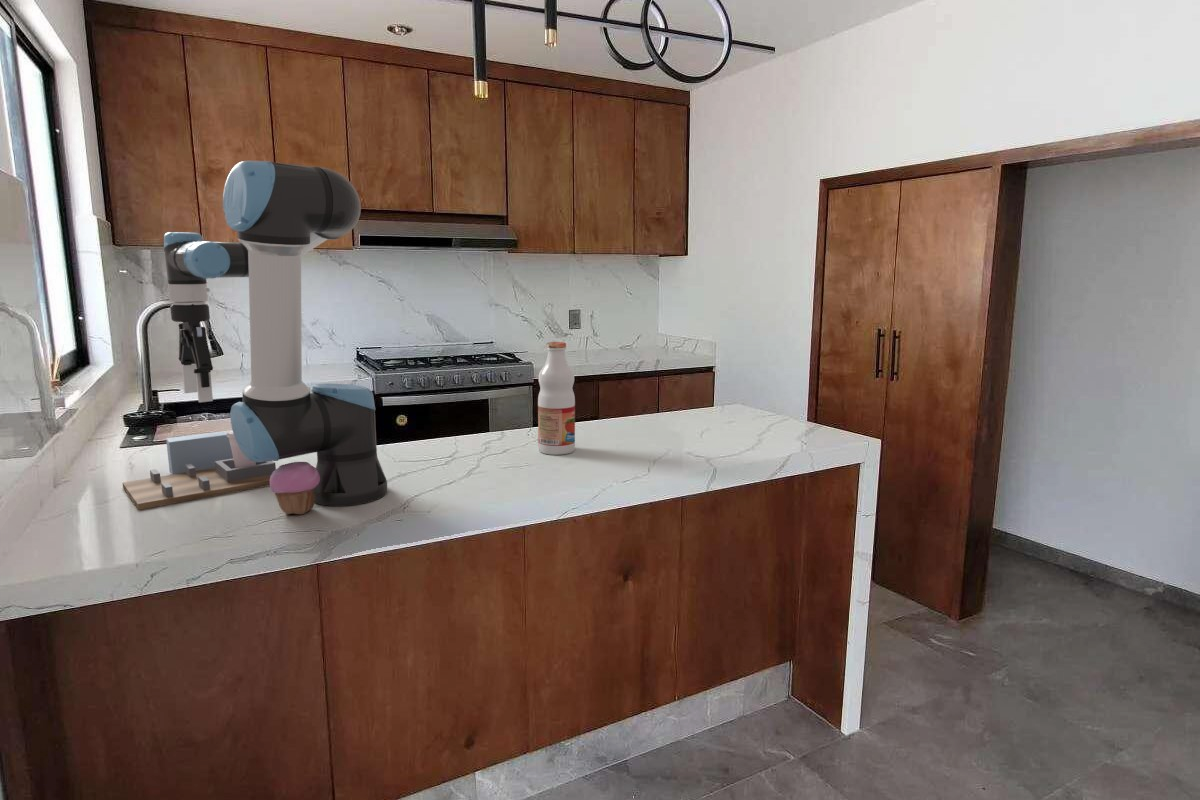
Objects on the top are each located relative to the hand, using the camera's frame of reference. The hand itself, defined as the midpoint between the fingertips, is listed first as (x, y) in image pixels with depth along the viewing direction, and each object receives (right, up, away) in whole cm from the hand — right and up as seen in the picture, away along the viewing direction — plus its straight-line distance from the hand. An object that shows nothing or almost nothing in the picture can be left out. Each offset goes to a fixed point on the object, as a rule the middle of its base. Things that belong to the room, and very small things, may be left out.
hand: (198, 397), depth 165 cm
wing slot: (+3, -18, -13) cm, 23 cm away
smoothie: (+13, -17, -4) cm, 22 cm away
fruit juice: (+81, -14, +21) cm, 85 cm away
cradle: (+13, -17, -4) cm, 22 cm away
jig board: (+7, -19, -9) cm, 22 cm away
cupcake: (+33, -23, -26) cm, 48 cm away
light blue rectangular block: (0, -17, +3) cm, 17 cm away
